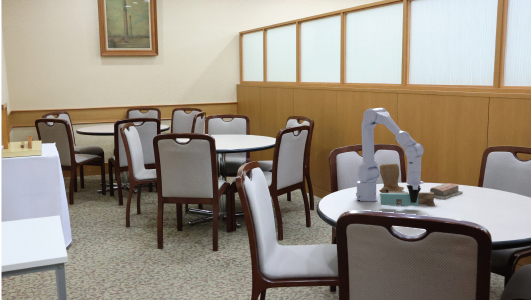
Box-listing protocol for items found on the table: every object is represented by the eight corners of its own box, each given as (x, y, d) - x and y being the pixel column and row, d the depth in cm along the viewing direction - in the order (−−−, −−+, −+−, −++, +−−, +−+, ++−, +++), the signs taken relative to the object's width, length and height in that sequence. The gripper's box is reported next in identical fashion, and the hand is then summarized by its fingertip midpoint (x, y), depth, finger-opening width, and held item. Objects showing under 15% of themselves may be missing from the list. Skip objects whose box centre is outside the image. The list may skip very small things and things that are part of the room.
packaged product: (444, 181, 240) (462, 184, 233) (444, 190, 241) (462, 194, 233) (424, 187, 229) (443, 190, 221) (424, 196, 230) (443, 200, 222)
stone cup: (384, 188, 247) (384, 160, 245) (406, 190, 240) (407, 162, 238) (373, 194, 235) (373, 164, 233) (396, 197, 228) (396, 166, 226)
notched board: (388, 204, 215) (389, 194, 214) (387, 200, 223) (388, 190, 222) (434, 205, 211) (435, 195, 210) (432, 201, 219) (432, 190, 218)
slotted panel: (380, 204, 209) (380, 193, 208) (380, 203, 210) (380, 193, 210) (418, 205, 206) (418, 194, 205) (417, 204, 207) (417, 193, 207)
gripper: (425, 175, 197) (425, 206, 199) (421, 168, 211) (420, 198, 213) (408, 174, 198) (407, 206, 200) (405, 168, 212) (404, 197, 214)
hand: (413, 201), depth 207 cm, fingers closed on slotted panel, 1 cm apart
